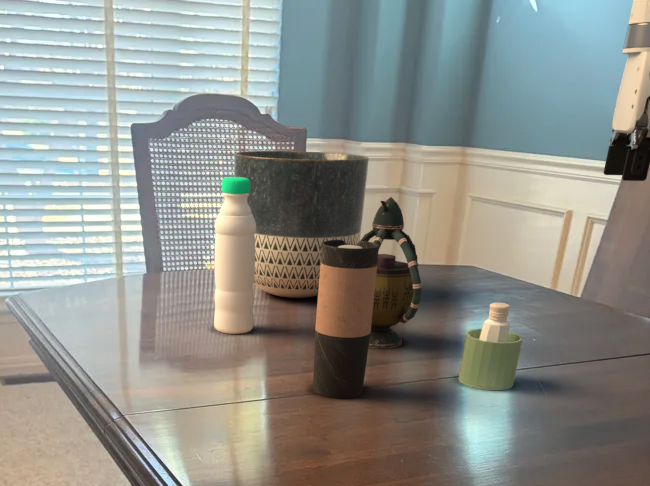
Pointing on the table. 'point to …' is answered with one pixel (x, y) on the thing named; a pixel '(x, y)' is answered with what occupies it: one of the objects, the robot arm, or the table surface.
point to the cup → (489, 361)
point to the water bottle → (234, 259)
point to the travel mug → (344, 317)
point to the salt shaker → (496, 324)
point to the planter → (300, 213)
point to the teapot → (392, 278)
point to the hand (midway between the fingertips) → (623, 177)
